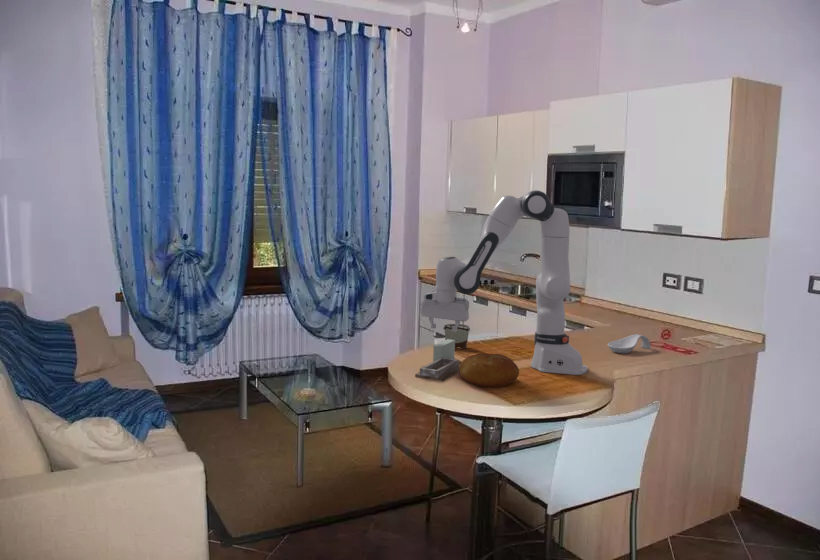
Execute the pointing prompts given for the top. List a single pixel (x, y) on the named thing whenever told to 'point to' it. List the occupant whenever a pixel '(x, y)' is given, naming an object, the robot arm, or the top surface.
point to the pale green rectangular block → (444, 350)
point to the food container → (457, 334)
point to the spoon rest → (628, 344)
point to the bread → (489, 370)
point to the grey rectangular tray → (439, 369)
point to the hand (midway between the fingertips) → (443, 329)
